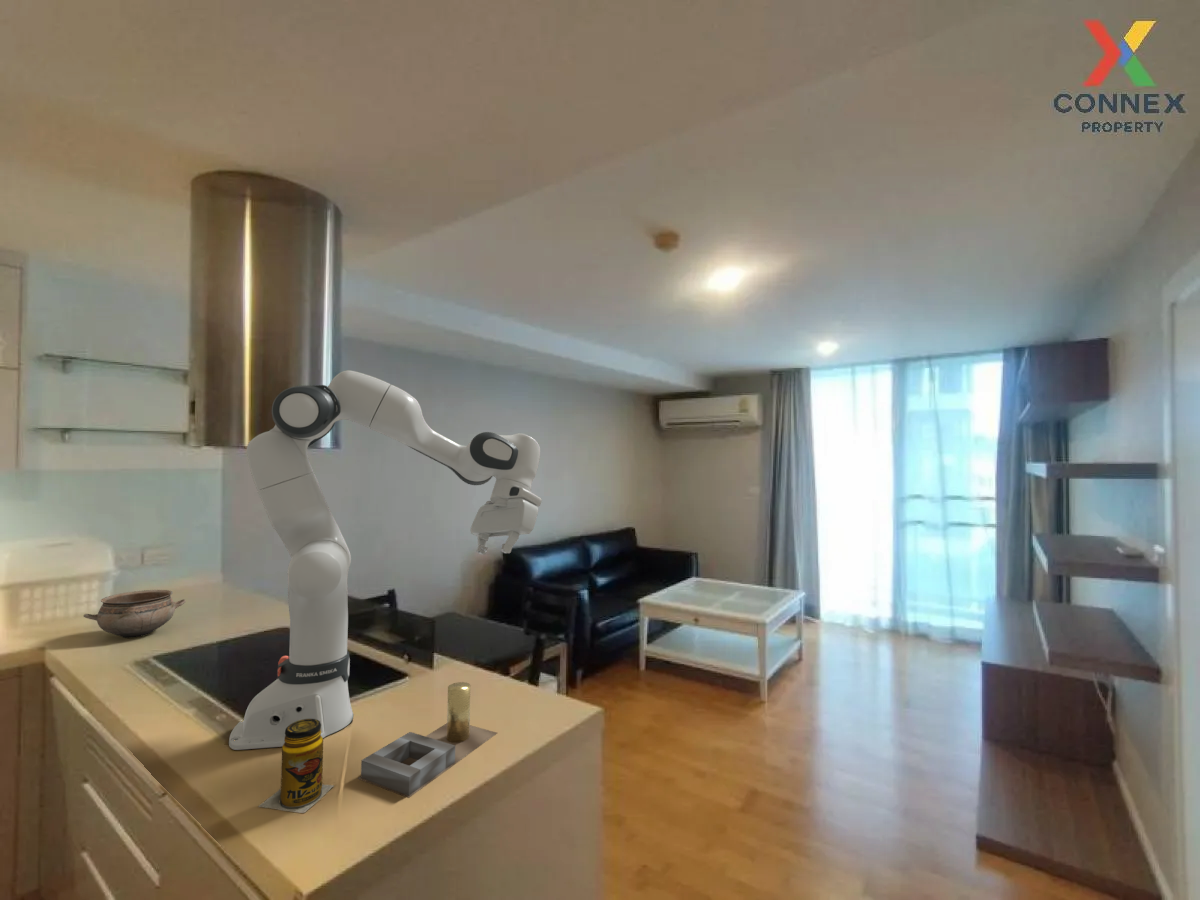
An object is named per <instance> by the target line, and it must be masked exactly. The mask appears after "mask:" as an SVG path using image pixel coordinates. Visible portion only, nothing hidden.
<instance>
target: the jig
mask: <svg viewBox="0 0 1200 900" xmlns="http://www.w3.org/2000/svg"><path fill="white" fill-rule="evenodd" d="M497 734H498V732H495V731H492V730H489V729H485V728H482V727H478V726H474V725H471V724H470V733H469V738H468V739H467V740H465V741H463V742H459V743H453V742H449V741H448V740H447V722H446V723H444V724H443V725H442V726H439V727H438V728H436V729H435V730H433V731H431V732H430V733H428V734H427V735H422V734H418V733H415V732H412V731H409V732H407V733H405V734H404V735H402V736H400V737H399V738H397V739H396V740H394V741H392V742H390V743H388V744H386V745H384V746H383V747H381V748H379V749H378V750H376V751H374V752H373V753H371V754H369V755H368V756H366V757H365V758H363V759H361V760H360V761H361V762H360V764H361V765H360V776H359V777H358V778H356V779H358V780H360V781H363V782H366V783H369V784H370V785H372V786H376V787H379V788H382V789H385V791H386V790H387V791H389V792H392V793H395V794H397V795H400V796H403V797H405V798H407V799H410V798H412V797H413V796H414V795H415V794H416V793H418V792H420V791H421V790H422V789H423V788H425V787H426V786H427V785H429V784H430V783H432V782H433V781H434V780H436V779H437V778H438V777H440V776H441V775H443V774H444V773H445V772H447V771H448V770H449V769H451V768H452V767H453V766H455V765H456V764H458V763H459V762H461V761H462V760H463V759H464V758H466V757H467V756H468V755H470V754H471V753H473V752H474V751H475V750H477V749H478V748H479V747H481V746H482V745H483V744H486V742H488V741H489V740H491V738H493V737H494V736H496V735H497Z"/></svg>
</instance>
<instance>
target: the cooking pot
mask: <svg viewBox="0 0 1200 900" xmlns="http://www.w3.org/2000/svg"><path fill="white" fill-rule="evenodd" d="M171 595H173V591H172V590H168V589H147V590H137V591H135V590H134V591H128V592H123V593H117V594H113V595H112V594H111V595H109V596H108V595H107V596H106V597H103V598H101V599H100V602H101V603H102V604H101V606H100V608H99V610H98V613H97V614H95V613H94V614H91V613H84V614H83V618H86V619H88V620H93V621H96V622H97V625H98V627H99V628H100V629H101V630H103V631H105V632H107V633H109V634H112V635H116V636H118V637H122V638H125V639H126V638H127V639H130V638H138V637H139V638H140V637H143V636H144V637H145V636H147V635H150V634H151V633H152V632H154V631H156V630H157V629H160V627H161V628H162V626H164V625H166V624H167V623H168V622H169V621H170V620H171V619H172V617H173V616H174V613H175V611H176V609H178V608H179V607H181V606H182V605H184V604H185V603H186V602H187V600H186V599H180V600H177V601H174V600H173V597H172V596H171Z"/></svg>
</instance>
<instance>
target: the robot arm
mask: <svg viewBox="0 0 1200 900" xmlns="http://www.w3.org/2000/svg"><path fill="white" fill-rule="evenodd" d="M271 405H272V406H271V415H272V416H271V418H272V421H273V422H274V424H275V425H274V427H273V428H271V429H269V431H264V432H262V433H259V434H257V435H256V436H254V437H253V438H252V439H251V440H250V441H249V442H248V444H247V446H246V457H247V463H248V466H249V470H250V474H251V477H252V480H253V482H254V486H255V488H256V491H257V494H258V496H259V498H260V500H261V503H262V506H263V507H264V511H265V512H266V515H267V517H268V519H269V521H270V524H271V526H272V528H273V529H274V531H275V532H276V533H277V535H278V536H279V538H280V540H281V541H282V543H283V544H284V546H285V548H286V550H287V551H288V553H289V555H290V557H291V559H290V561H289V563H288V566H287V572H286V573H287V599H288V600H287V601H288V612H289V646H288V647H289V652H288V653H289V655H283V656H281V657H280V658H279V661H278V662H277V663H278V664H277V670H276V671H277V672H276V673H277V674H276V675H277V678H276V680H275V679H274V681H273V682H271V683H270V684H269V685H267V687H264V688H263V689H262V690H261V691H260V692H259V693H257V694H256V695H255V696H254V697H253V698H252V700H251V701H250V702H249V704H248V706H247V709H246V710H245V714H244V717H243V719H244V721H243V722H241V721H242V720H240V721H239V722H238V723H237V724H236V725H235V726H234V727H233V729H232V731H231V733H230V734H229V738H228V739H229V740H228V745H229V748H230V749H232V750H235V751H240V750H251V749H252V750H253V749H255V750H256V749H266V748H267V749H269V748H278V747H279V748H280V747H282V746H283V745H284V743H285V741H284V739H285V730H286V728H287V727H288V726H289V725H290V724H292V723H294V722H296V721H299V720H303V719H316V720H319V721H320V723H321V736H322V738H323V739H324V738H325V737H328V736H330V735H331V734H334V733H337V732H339V731H341V730H342V729H344V728H346V727H347V726H348V725H350V723H351V722H352V721H353V719H354V715H355V714H354V712H353V711H354V710H353V708H352V705H351V700H350V693H349V683H348V680H349V678H350V667H351V665H350V663H351V662H350V661H351V659H350V652H349V651H348V639H349V638H348V632H349V631H348V630H349V629H348V628H349V608H348V607H349V606H348V604H349V603H348V599H349V598H348V595H349V594H348V589H349V587H348V577H349V570H350V567H351V563H352V555H351V552H350V549H349V546H348V545H347V541H346V540H345V537H344V536H343V534H342V531H341V529H340V527H339V525H338V523H337V521H336V519H335V517H334V515H333V513H332V511H331V510H330V507H329V505H328V503H327V500H326V497H325V495H324V493H323V491H322V488H321V486H320V482H319V480H318V478H317V476H316V473H315V471H314V469H313V467H312V466H313V465H312V464H311V461H310V459H309V458H310V457H309V454H308V447H310V446H312V445H313V444H315V443H316V442H318V441H319V440H321V439H322V438H325V436H328V434H329V433H330V432H331V431H332V430H333V428H334V426H335V424H336V422H339V421H343V420H344V421H351V422H354V423H357V424H359V425H360V426H361V425H362V426H363V427H365V428H368V429H370V430H372V431H375V432H377V433H379V434H382V435H384V436H386V437H388V438H391V439H393V440H395V441H397V442H399V443H401V444H403V445H405V446H407V447H409V448H410V449H412V450H414V451H416V452H417V453H418V454H419V453H420V454H421V455H423V456H425V457H427V458H430V459H431V460H434V461H435V462H437V463H439V464H440V465H443V466H445V467H447V468H448V469H450V470H451V471H452V472H453V473H454V474H455V475H456V476H457V477H458V478H459V479H460V480H461V481H462V482H464V483H465V484H467V485H469V486H481V485H484V484H486V483H488V482H489V481H490V480H491V479H492V478H493V477H494V478H495V483H494V484H493V489H492V492H491V495H490V499H489V500H487V501H486V502H485V504H484V505H482V506H479V509H478V510H477V511H476V513H475V517H474V519H473V521H472V523H471V527H470V534H471V535H473V536H475V537H477V549H476V553H477V554H479V555H486V554H487V551H488V548H489V547H488V546H487V542H488V540H489V539H490V538H494V537H496V538H498V537H507V539H506V541H505V542H504V543H502V545H501V548H500V551H501V552H502V553H503V554H510V553H511V552H512V550H513V547H514V545H515V544H516V543H517V541H518V540H519V538H520V536H522V535H530V534H531V532H532V531H533V530H534V528H535V525H536V522H537V517H538V514H539V507H540V506H541V504H542V501H543V500H542V498H541V497H540V496H538V495H536V494H535V493H533V492H532V483H533V481H534V479H535V478H536V475H537V472H538V467H539V463H540V458H541V447H540V444H539V443H538V441H537V440H536V439H535V438H533V437H532V436H530V435H529V434H526V433H521V432H520V433H519V432H518V433H514V434H508V435H507V434H506V435H505V434H497V433H495V432H491V431H483V432H481V433H478V434H476V435H475V436H474V437H473V438H472V439H471V440H470V442H469V443H468V444H467V445H463V444H459V443H457V442H455V441H453V440H452V439H449V438H448V437H446V436H444V435H442V434H440V433H438V432H437V431H435V430H433V429H432V428H431V427H430V426H429V424H428V423H427V422H426V420H425V418H424V416H423V415H424V414H423V411H422V410H423V409H422V408H421V405H420V403H419V401H418V400H417V399H416V398H415V397H414V396H412V394H410V393H409V392H407V391H406V390H403V389H402V388H400V387H398V386H396V385H393V384H391V383H389V382H387V381H385V380H382V379H380V378H377V377H375V376H372V375H369V374H366V373H362V372H360V371H359V372H358V371H356V370H350V369H348V370H343V371H341V372H339V373H337V374H336V375H335V376H334V377H333V378H332V380H331V381H330V383H329V384H328V385H325V384H317V385H316V384H313V385H309V384H307V385H306V384H305V385H295V386H291V387H289V388H286V389H283V390H282V391H281V392H279V394H278V395H277V396H276V397H275V399H273V403H272V404H271ZM234 740H235V741H234Z"/></svg>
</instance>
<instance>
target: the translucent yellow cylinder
mask: <svg viewBox="0 0 1200 900" xmlns="http://www.w3.org/2000/svg"><path fill="white" fill-rule="evenodd" d="M446 709H447V712H446V713H447V714H446V723H447V740H448V741H449V742H453V743H459V742H463V741H465V740H467V739H468V738H469V733H470V725H471V722H470V721H471V715H470V714H471V684H470V683H468V682H464V681H460V682H459V681H458V682H454V683H451V684H449V685H448V686H447V706H446Z"/></svg>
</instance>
